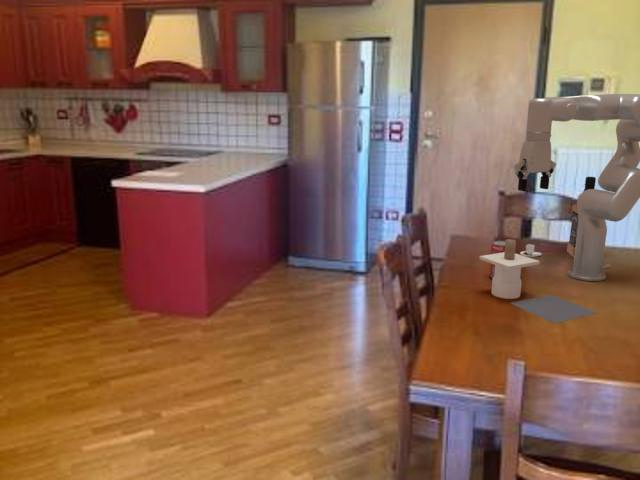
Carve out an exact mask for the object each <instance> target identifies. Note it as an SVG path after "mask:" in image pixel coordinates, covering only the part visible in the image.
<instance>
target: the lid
mask: <svg viewBox="0 0 640 480" xmlns="http://www.w3.org/2000/svg"><path fill="white" fill-rule="evenodd" d="M504 241H505V252H503V253H496V254H491V253H490V254H485V255H479V260H481V261H484V262H486V263H489V264H490V263H492V264H494V265H497V266H500V267H503V268H505V269H508V270H510V269H515V268H521V269H522V268H525V267H533V266H537V265H540V263H541V261H540V260H537V259H534V258H532V257H529V256H524V255H522V254H520V253H519V254H518V253H516V247H517V246H516V245H517V240H516V239H513V238H512V239H511V238H510V239H509V238H507V239H505V240H504Z"/></svg>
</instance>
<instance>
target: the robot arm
mask: <svg viewBox="0 0 640 480" xmlns="http://www.w3.org/2000/svg"><path fill="white" fill-rule="evenodd" d="M527 109H528V110H527V118H526V131H525V141H523V142H522V146H521V149H520V154H519V158H518V159H519V161H518V162H517V163H516V164H514V167H513V168H514V171H515V175H516V176H517V178H518V186H517V190H518V191H520V192H524V193H525V192H527V187H528V178H527V177H528V176H529V175H530V174H539V173H540V174H541V176H540V183H539V188H540V189H543V190H548V189H549V187H550V178H551V177H552V174H553V173H554V172H555V171H554V170H555V168H556V165H557V163H556V162H555V161H553V160H552V142H551V138H552V134H551V133H552V124H553V122H562V123H563V122H569V121H571V120H573V121H574V120H575V121H583V122H588V121H591V122H593V121H594V122H595V121H596V122H597V121H612V120H613V121H617V120H618V123H617V125H616V128H615V135H616V140H617V145H616V146H617V147H616V151H615V152H614V154H613V156H612V157H611V159H610V160H609V162H608V163H607V164H606V166H605V167H604V168H603V169H602V171H601V173H600V175H599V177H598V178H597V179H598V181H597V182H598V186H599V187H600V189H596V188H595V189H588V190H585V191H584V190H583V191H584V192H583V191H582V192H581V193H580V194H579V196H578V197H577V202H576V204H577V208H578V230H577V238H576V247H575V256H574V257H573V265H572V266H573V267H572V268H570V269H569V270H568V271H567V275H568V276H569V277H571V278H573V279H577V280H580V281H587V282H601V281H604V280H606V278H607V274H606V273H605V272H604V271H605V270H609V269H611V265H610V264H609V263H604V256H605V250H606V249H605V248H606V240H607V235H608V225H607V222H606V221H609V222H620V221H622V220H623V219H625V218H626V217H627V216H628V215H629V213H630V212H631V211H632V209H634V206H635V205H636V204H637V202H638V201H639V199H640V168H639V167H638V166H639V164H640V144H639V143H640V94H639V93H637V94H636V93H635V94H634V93H633V94H632V93H612V94H607V93H606V94H587V95H586V94H583V95H574V96H572V95H571V96H547V97H543V98H542V97H541V98H539V97H537V98H531V99H530V100H529V102H528V108H527Z"/></svg>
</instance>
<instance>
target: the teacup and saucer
mask: <svg viewBox="0 0 640 480" xmlns="http://www.w3.org/2000/svg"><path fill="white" fill-rule="evenodd" d="M535 247H536V246H535V244H530V243H528V244H526V245H525V250H524V251H519V255H522V256H525V257H529V256H530V258H533V257H541V256H542V253H541V252H537V251H535ZM525 253H527V255H526V254H525Z"/></svg>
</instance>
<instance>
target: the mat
mask: <svg viewBox="0 0 640 480" xmlns="http://www.w3.org/2000/svg"><path fill="white" fill-rule="evenodd" d="M509 304H510V305H513V306H515V307H517V308H520V309H522V310H524V311H527V312H529V313H531V314H533V315H534V316H537V317H540V318H542V319H544V320H547V321H549V322H551V323H553V324H557V323H561V322H566V321H570V320H575V319H579V318H583V317H588V316H592V315H596V314H599V312H598V311H594V310H592V309H589V308H587V307H584V306H581V305H580V304H578V303H574V302H572V301H569V300H567V299H564V298H561V297H559V296H556V295H554V294H548V295H544V296H538V297H533V298H528V299H523V300H519V301H513V302H509Z"/></svg>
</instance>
